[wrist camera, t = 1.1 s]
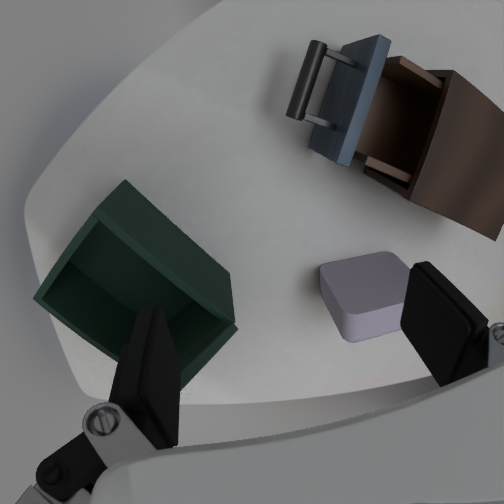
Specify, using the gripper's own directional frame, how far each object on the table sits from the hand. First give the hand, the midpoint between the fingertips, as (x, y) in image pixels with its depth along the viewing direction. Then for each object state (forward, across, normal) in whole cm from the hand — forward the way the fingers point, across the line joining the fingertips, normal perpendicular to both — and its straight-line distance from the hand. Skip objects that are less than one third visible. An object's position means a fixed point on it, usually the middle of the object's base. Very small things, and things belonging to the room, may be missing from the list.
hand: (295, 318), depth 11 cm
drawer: (+22, -13, -5) cm, 26 cm away
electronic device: (+23, -13, +14) cm, 30 cm away
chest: (+23, +12, +9) cm, 27 cm away
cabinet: (+23, -22, -2) cm, 32 cm away
